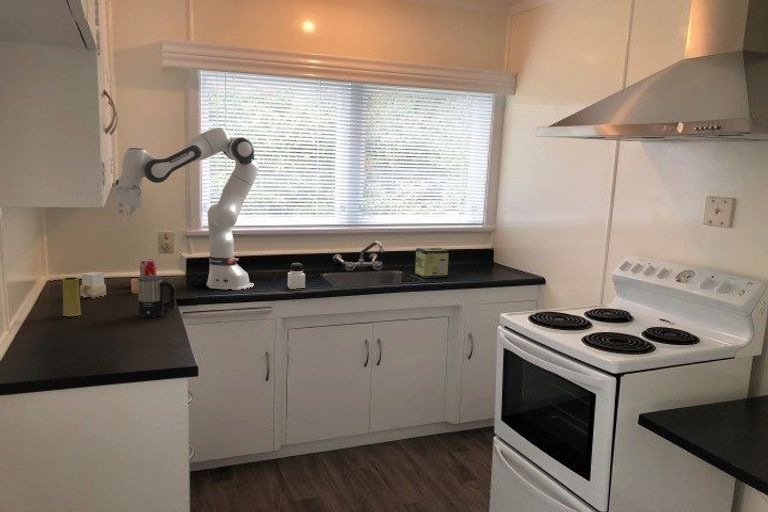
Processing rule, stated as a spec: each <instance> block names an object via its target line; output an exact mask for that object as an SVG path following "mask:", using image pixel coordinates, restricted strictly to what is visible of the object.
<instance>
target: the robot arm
mask: <svg viewBox="0 0 768 512" xmlns="http://www.w3.org/2000/svg"><path fill="white" fill-rule="evenodd" d="M221 152H222V153H223V154H224V155H225V156H226V157H227V158H228V159H230V160H232V161H234V162H235V166H234V169H233V171H232V172H231V174H230V176H229V177H228V179H227V181H226V183H225V185H224V186H223V188H222V192H221V195H220V198H219V201H218V202H217V203H214V204H212V205H211V206H210V207H209V208H208V210H207V216H206V217H207V225H208V226H207V227H208V234H209V256H208V263H209V271H208V272H209V273H208V278H207V282H206V286H207V287H208V289H213V290H214V289H215V290H216V289H217V290H218V289H219V290H228V289H232V291H242V290H241V289H244V290H248V289H250V287H251V288H254V286H255V284H254V283H253V282H250V278H249V274H248V272H247V271H246V270H244V269H243V268H242V267H241V266H240V265H239V264H238V262H237V261H239V258H238V257H237V258H236V257H235V255H234V253H235V252H234V251H235V247H234V245H235V243H234V241H235V240H234V235H233V228H232V227H233V226H235V225H236V223H237V222H238V221H237V220H238V216H239V215H240V212H241V210H242V207H243V204H244V203H245V200H246V197H247V196H248V194H249V192H250V191H251V189H252V187H253V185H254V184H255V181H256V179H257V176H258V173H259V168H260V167H259V165H258V163H257V162H256V161H254V160H255V146H254V144H253V142H252V141H251V140H250V139H249V138H246V137H240V136H238V137H237V136H236V137H232V136H230V135H229V132H228V131H227V130H226V129H224V128H223V127H216V128H212V129H209V130H207V131H204V132H202V133H199V134H197V135H196V136H194V137H192V138H191V139H190V140H188V142H187V143H186V145H185V146H184V147H183V149H182V150H180V151H178V152H176V153H174V154H171V155H169V156H167V157H166V158H156V157H154V156H152V155H151V154H150V153H149V152H148V151H146V149H144V148H138V147H137V148H136V147H129V148H128V149H126V151H125V152H124V156H123V161H122V165H121V166H122V167H121V168H122V170H121V171H122V172H121V173H120V177H119V178H118V179H115V181H116V183H115V182H114V185H115V186H114V193H113V200H114V202H116V203H117V209H118V211H117V213H118V214H121V215H122V214H124V211H125V210H124V206H125V205H126V206H129V210H128V212H127V217H131V218H133V216H134V212H135V211H136V208H137V209H140V208H141V206H142V203H143V202H142V201H143V191H142V189H141V187H142V182H143V178H146V179H147V180H148V181H150V182H152V183H154V184H158V183H163V182H165V181H166V180H168V178H169V177H170V175H171V174H173V172H175V171H176V170H178V169H181V168H183V167H185V166H187V165H188V164H191V163H193V162H198V161H202V160H206V159H208V158H210V157H212V156H215V155H216V154H218V153H221ZM247 288H248V289H247Z"/></svg>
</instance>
